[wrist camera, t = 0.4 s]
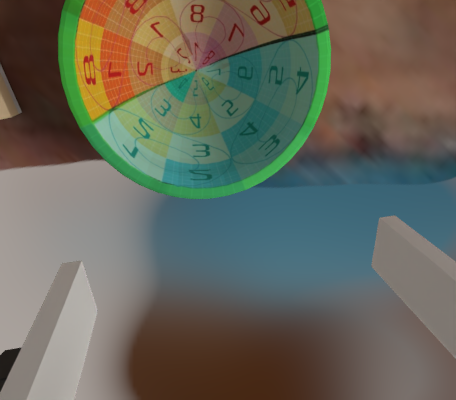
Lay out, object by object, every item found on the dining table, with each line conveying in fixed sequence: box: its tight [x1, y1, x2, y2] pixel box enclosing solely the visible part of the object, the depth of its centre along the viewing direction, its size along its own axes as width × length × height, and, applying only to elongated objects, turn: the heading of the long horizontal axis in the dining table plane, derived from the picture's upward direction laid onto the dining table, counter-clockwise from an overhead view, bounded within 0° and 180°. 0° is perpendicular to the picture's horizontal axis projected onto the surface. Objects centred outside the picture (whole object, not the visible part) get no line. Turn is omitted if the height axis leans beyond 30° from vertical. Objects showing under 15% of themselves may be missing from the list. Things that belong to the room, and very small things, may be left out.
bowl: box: [58, 0, 331, 199], centre depth 31 cm, size 22×22×10 cm
